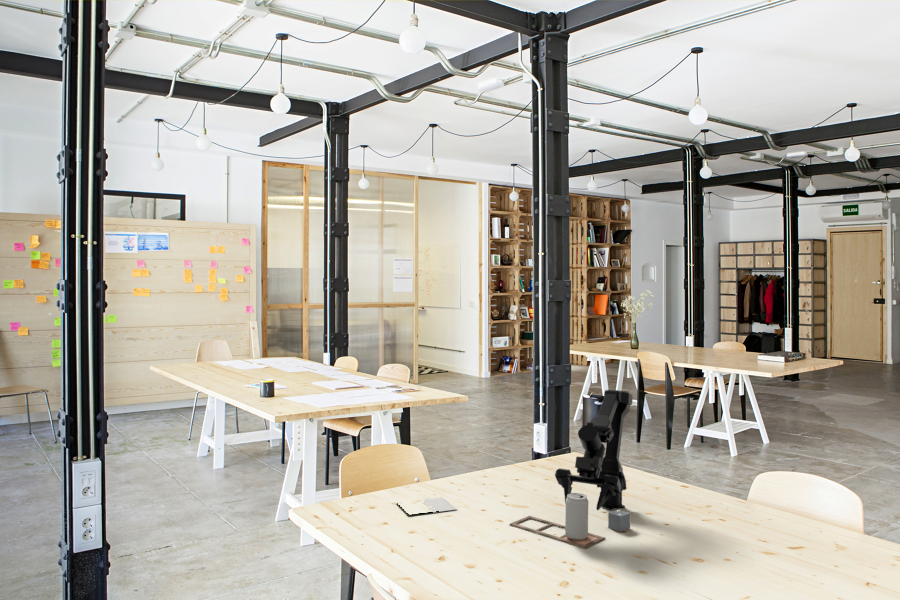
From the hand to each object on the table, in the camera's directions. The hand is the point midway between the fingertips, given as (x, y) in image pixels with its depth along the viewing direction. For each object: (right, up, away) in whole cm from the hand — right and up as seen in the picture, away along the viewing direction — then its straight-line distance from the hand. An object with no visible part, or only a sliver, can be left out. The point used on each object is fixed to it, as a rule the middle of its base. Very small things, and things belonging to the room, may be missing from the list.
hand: (581, 506), depth 186 cm
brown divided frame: (-7, -9, +5) cm, 12 cm away
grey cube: (+13, -9, +8) cm, 18 cm away
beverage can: (-2, -9, 0) cm, 9 cm away
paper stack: (-48, -9, +22) cm, 53 cm away
